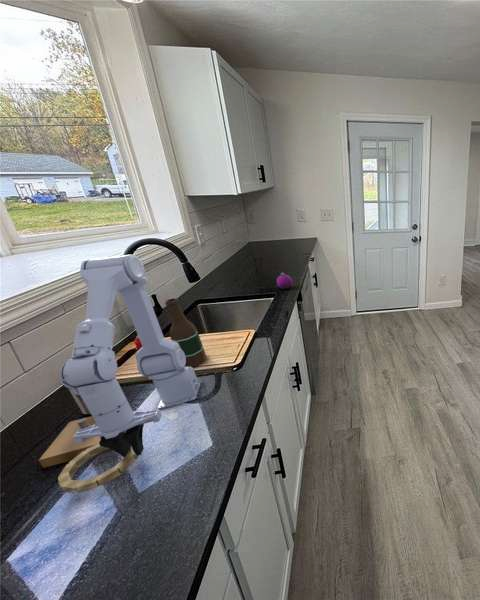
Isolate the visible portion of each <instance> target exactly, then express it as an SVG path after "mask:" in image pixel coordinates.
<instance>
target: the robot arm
mask: <svg viewBox="0 0 480 600" xmlns="http://www.w3.org/2000/svg"><path fill="white" fill-rule="evenodd" d="M80 277H81V279H82V282H83V283H84V284H85V285H86V286H87V298H86V317H85V320H83V321H81V322H80V323H78V325H76V331H75V336H74V341H73V347H72V351H71V356H70V358H69V359H68V360H67V361H65V362H64V363H63V364H62V366H61V368H60V378H61V381H60V383H61V384H62V385H63V386H64V387H65V388H67V389H68V388H70V389H72V390H73V392H74V393H75V395H76V394H77V395H80V396H81V397H82V399H83V401H84V403H85V404H86V406H87V408H88V410H89V411H90V415H91V416H92V417H93V418H94V420H95V422H96V424H95V425H92V426H90V427H87V428H84V429H81V430H78V431H77V432H76V434H75V435H74V436H73V438H74V439H75V441H76V443H77V444H78V443H82V442H84V441H85V440H86V439H90V438H94V437H101V438H100V439H101V440H100V442H99V445H100V446H102V447H106V448H109V450H111V451H113V452H116V453H117V454H118V455H120V456H121V457H122V458H124V457H125V456H126V455H127V453H128V451H129V449H130V447H132V449H133V451H134V453H135V454H136V455H137V456H138V455H139V456H141V455H142V453H143V452H144V449H145V447H144V442H143V441H144V440H143V432H144V426H145V424H148V423H152V422H153V423H158V422H159V423H160V421H161V419H162V413H161V409H165V408H168V407H169V408H170V407H172V406H176V405H179V404H184V403H187V402H191V401H194V400H196V398H197V396H198V393H199V390H200V387H201V383H200V382H199V380H198V377H197V374H196V372H195V369H194V367H184V366H185V363H186V357H185V354H184V352H183V351H182V349H181V348H180V346H179V344H178V343H177V342H174V341H172V340H171V339H168V338H165V337H164V334H163V331H162V329H161V326H160V323H159V320H158V318H157V315H156V312H155V310H154V307H153V304H152V301H151V298H150V297H149V294H148V292H147V289H146V286H145V285H146V284H149V278H148V274H147V272H146V269H145V266H144V263H143V262H142V259H140V258H139V257H137V256H136V255H134V254H131V253H130V254H126V255H119V256H110V257H100V258H86V259H84V260H83V261H82V262H81V263H80ZM117 293H120V295H121V296H122V299H123V301H124V302H123V303H124V304H125V306H126V310H127V311H128V314H129V317H130V319H131V322H132V324H133V326H134V328H135V331H136V334H137V335H138V336H139V339H140V341H141V344H142V347H141V348H140V349H139V350H138V349H137V352H136V353H135V359H136V368H137V371H138V373H139V374H140V375H141V376H142V377H145V378H146V377H147V378H148V380H152V383H153V385H154V387H155V389H156V391H157V394H158V396H159V398H160V401H159V403H158V405H157V407H156V409H152V410H143V411H142V410H140V411H133V409H132V406H131V405H130V403H129V402H128V399H127V397H126V395H125V393H124V391H123V389H122V387H121V385H120V383H119V381H118V379H117V377H116V375H117V371H118V363H117V359H116V353H115V351H113V346H114V345H113V344H114V338H115V329H116V327H115V325H114V324H113V323H112V322H111V321H110V318H111V315H112V311H113V307H114V304H115V300H116V296H117ZM139 456H138V457H139Z"/></svg>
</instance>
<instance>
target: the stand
mask: <svg viewBox="0 0 480 600" xmlns="http://www.w3.org/2000/svg"><path fill="white" fill-rule="evenodd" d="M95 424H96V422H95V420H94V418H93V417H92V415H91V416H87V417H83V418H80V419H74V420H72V421H69V422H68V423H67V424H66V426H65V427H64V428H63V429H62V430H61V432H60V433H59V434H58V435H57V436H56V438H55V439H54V440H53V441H52V443H51V444H50V445H49V446H48V447H47V449H46V450H45V451H44V453H43V454H42V455H41V457H40V458H39V459H38V462H39V464H40V465H41V466H42V468H43V469H45V468H48V467H49V468H50V467H52V466H56V465H59V464H63V463H67V462H70V461H71V460H73V459H74V458H75V457H77V456H78V455H79V454H80V453H82V452H83V451H86V449H88V448H90V447H92V446H94V445H96V444H98V443H99V442H100V440H101V439H100V438H101V437H94V438H90V439H86V440H85V441H84V442H82V443H78V444H77V443H76V441H75V439H74V438H73V436H74V435H75V434H76V432H77V431H78V430H81V429H84V428H87V427H90V426H92V425H95ZM108 450H110V449H106V450H104V451H103V452H105V451H108Z"/></svg>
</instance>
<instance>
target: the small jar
mask: <svg viewBox="0 0 480 600" xmlns="http://www.w3.org/2000/svg"><path fill="white" fill-rule="evenodd" d="M67 389H68V391H69V392H70V395H71V396H72V398H73V399H74V401H75V403H76V404H77V406H78V408H79V410H80V411H81V413H82V414H83V415H91V413H90V411H89V410H88V408H87V406H86V404H85V403H84V401H83V399H82V397H81V396H80V395H77V394H76V395H75V393H74V392H73V390H72V389H70V388H67Z"/></svg>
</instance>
